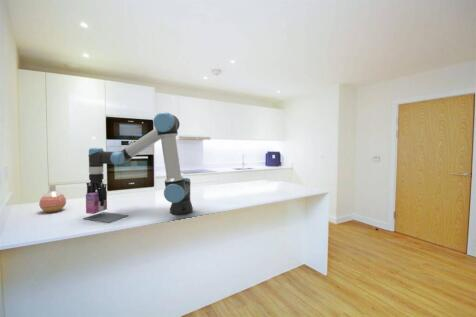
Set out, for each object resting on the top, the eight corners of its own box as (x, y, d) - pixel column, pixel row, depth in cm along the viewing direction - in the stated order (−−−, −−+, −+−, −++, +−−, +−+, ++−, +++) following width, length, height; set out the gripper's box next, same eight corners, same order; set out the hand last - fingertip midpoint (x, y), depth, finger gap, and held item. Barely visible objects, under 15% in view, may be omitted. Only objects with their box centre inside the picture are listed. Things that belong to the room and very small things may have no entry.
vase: (56, 214, 143) (55, 186, 142) (33, 214, 142) (32, 186, 141) (71, 208, 157) (70, 183, 156) (50, 208, 156) (49, 183, 155)
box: (93, 214, 134) (93, 194, 133) (85, 213, 135) (85, 193, 134) (107, 209, 144) (107, 190, 143) (99, 208, 145) (99, 190, 144)
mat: (127, 216, 142) (127, 215, 142) (109, 223, 129) (109, 222, 129) (103, 212, 148) (103, 211, 148) (83, 219, 135) (83, 218, 135)
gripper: (113, 173, 139) (114, 210, 140) (90, 171, 144) (90, 207, 146) (102, 174, 131) (103, 214, 133) (78, 173, 137) (79, 210, 138)
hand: (96, 210), depth 139 cm, fingers closed on box, 6 cm apart
